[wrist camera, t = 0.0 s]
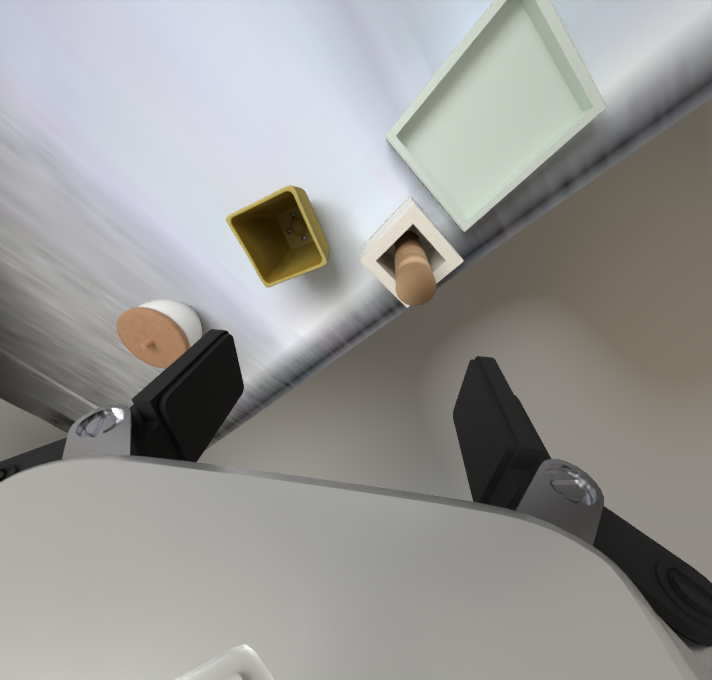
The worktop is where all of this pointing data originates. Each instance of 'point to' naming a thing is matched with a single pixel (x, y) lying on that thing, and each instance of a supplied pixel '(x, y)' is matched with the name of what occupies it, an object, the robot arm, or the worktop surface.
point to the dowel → (412, 271)
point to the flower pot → (280, 235)
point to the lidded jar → (159, 331)
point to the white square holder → (382, 243)
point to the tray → (496, 108)
